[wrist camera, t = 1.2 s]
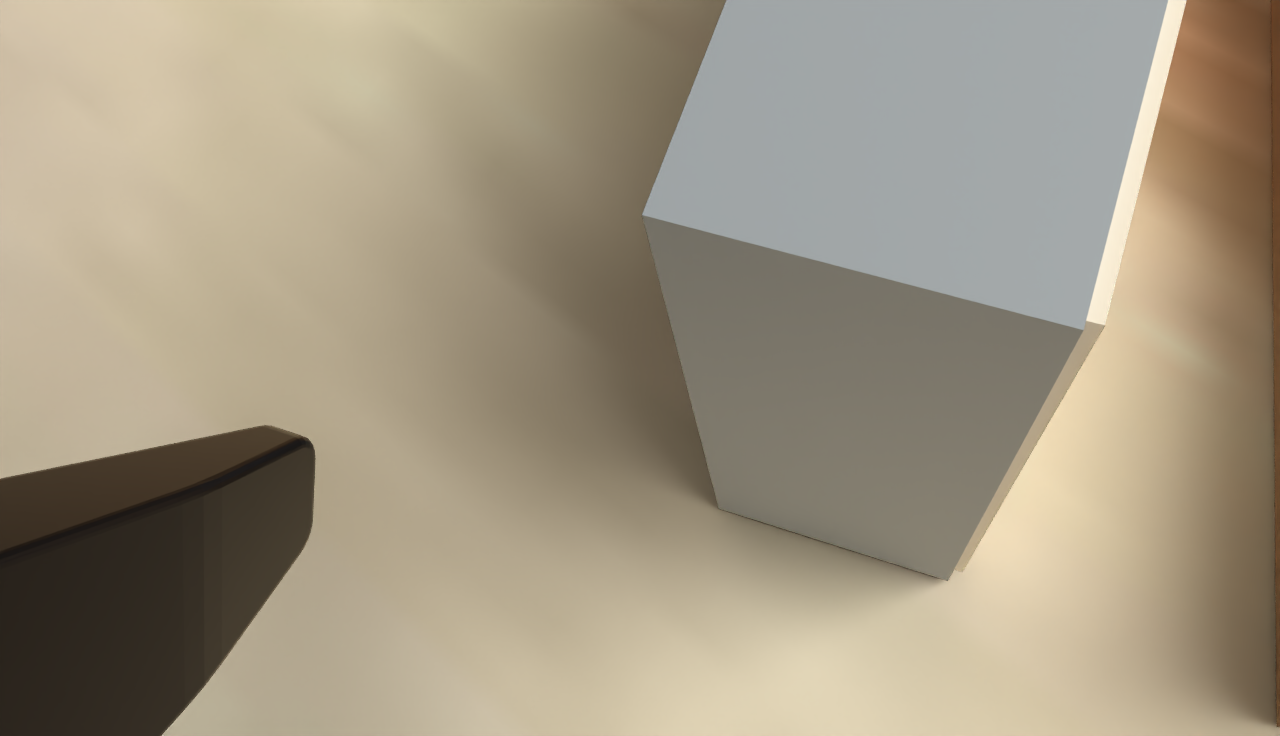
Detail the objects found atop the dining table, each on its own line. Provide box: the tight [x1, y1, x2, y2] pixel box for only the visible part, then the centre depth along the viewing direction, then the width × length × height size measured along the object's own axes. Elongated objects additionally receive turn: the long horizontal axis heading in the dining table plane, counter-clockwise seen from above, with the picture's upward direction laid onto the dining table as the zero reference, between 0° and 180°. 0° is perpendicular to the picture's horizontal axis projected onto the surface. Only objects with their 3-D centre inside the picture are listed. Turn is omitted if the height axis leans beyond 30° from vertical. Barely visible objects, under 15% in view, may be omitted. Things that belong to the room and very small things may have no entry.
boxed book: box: [642, 0, 1187, 581], centre depth 20 cm, size 16×5×12 cm, turn 160°
